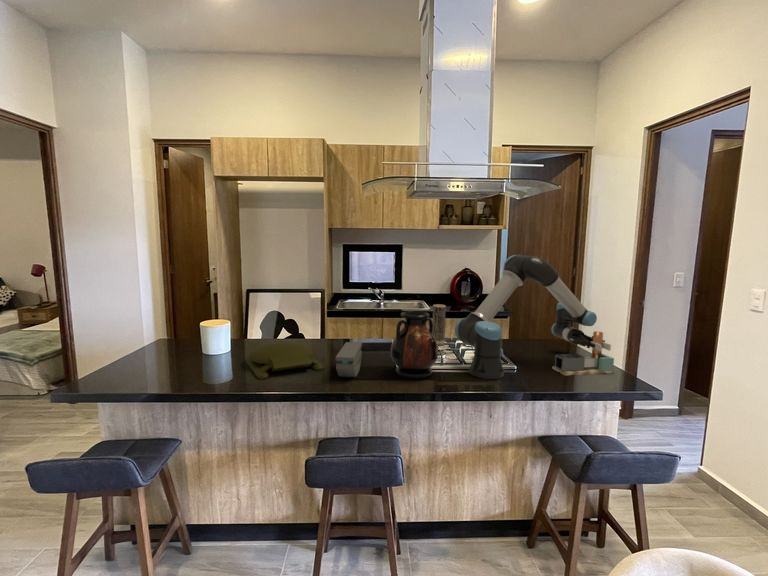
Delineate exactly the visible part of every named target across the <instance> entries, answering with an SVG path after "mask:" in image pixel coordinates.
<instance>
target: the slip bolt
mask: <svg viewBox="0 0 768 576" xmlns="http://www.w3.org/2000/svg"><path fill="white" fill-rule="evenodd" d="M592 336H593V342H595V343H598V344H600V345H602V340H604V332H602V331H593V333H592ZM602 349H603V348H601V351H599V350H597V349H594V348H592V347H591V353H592V356H589V355H587V356H584V355H582V356H583V357H585V363H584V367H599V359H600V358H602V357H601V353H602V352H603V350H602ZM602 354H603V353H602Z"/></svg>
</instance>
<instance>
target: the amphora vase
mask: <svg viewBox="0 0 768 576" xmlns="http://www.w3.org/2000/svg"><path fill="white" fill-rule="evenodd" d="M400 316H401V317H402V318H404V320H402V319H400V320H399V321H398V322H397V323H396V328H395V336H394V337H393V340H392V343H391V346H390V357H391V359H392V362H393V363H394V364H395V365H396V366H397V367H396V368H395V372H396V373H397V375H399V376H401V377H403V378H407V379H423V378H427V377H429V376H431V374H432V373H433V369H432V367H433V366H434V365H435V363H436V362H437V360H438V354H439V351H438V347H437V342H436V340H435V337H434V336H433V319H431V318H430V314H429V312H426V311H421V310H420V311H419V310H408V311H403V312H401V313H400ZM427 322H428V327H427V325H426V323H427ZM402 324H403V326H402ZM401 326H402V327H401Z"/></svg>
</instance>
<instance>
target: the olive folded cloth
mask: <svg viewBox="0 0 768 576" xmlns="http://www.w3.org/2000/svg"><path fill="white" fill-rule="evenodd" d="M247 356H248V358H247V360H246V364H247V366H248V367H249V368H250V370H251V371H252V372H253V373H254V375H255V376H256V377H257V379H259V380H266V379H268V378H269V377H270V374H269V372H268V371H269V370H270V371H271V372H279V371H286V370H293V369H299V368H305V367H310V368H312V369H313V370H314V371H323V370H324V369H325V366H324V364H322V363H321V362H320V361H319V360H317V359H316V358H314V351H313V349H312V348H311V347H310V346H308V345H306V344H304V343H302V342H301V343H300V342H296V341H279V342H278V341H277V342H269V343H264V344H262V345H259V346H257V347H255V348H253V349H252V350H251V351H250V352H249V354H248V355H247ZM262 364H263V365H262Z"/></svg>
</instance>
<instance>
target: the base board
mask: <svg viewBox="0 0 768 576" xmlns="http://www.w3.org/2000/svg"><path fill="white" fill-rule="evenodd" d="M552 370H554V371H556V372H558V373H559V372H560V374H561V375H563V376H579V375H580V376H581V375H584V374H585V375H600V374H601V375H602V374H604V373H606V374H614V369H613V370H611V371H601V370H598V369H596V368H594V367H584V371H565V372H562V371H560V370H559V369H557V368H555V365H553V366H552Z"/></svg>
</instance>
